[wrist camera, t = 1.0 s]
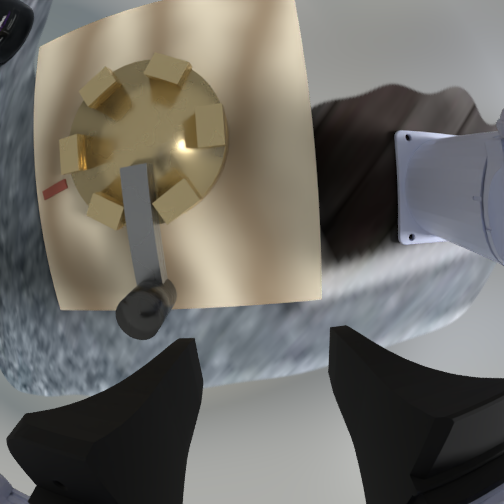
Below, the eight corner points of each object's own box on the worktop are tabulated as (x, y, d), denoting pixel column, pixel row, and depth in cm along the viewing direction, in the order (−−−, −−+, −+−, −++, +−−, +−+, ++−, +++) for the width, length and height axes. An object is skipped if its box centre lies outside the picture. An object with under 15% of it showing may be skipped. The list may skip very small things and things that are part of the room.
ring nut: (223, 57, 16) (209, 17, 10) (244, 294, 19) (239, 337, 14) (82, 90, 16) (35, 72, 11) (106, 300, 20) (68, 336, 14)
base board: (289, -4, 16) (291, -16, 14) (317, 291, 21) (322, 300, 19) (49, 51, 16) (38, 46, 15) (69, 302, 22) (59, 310, 20)
